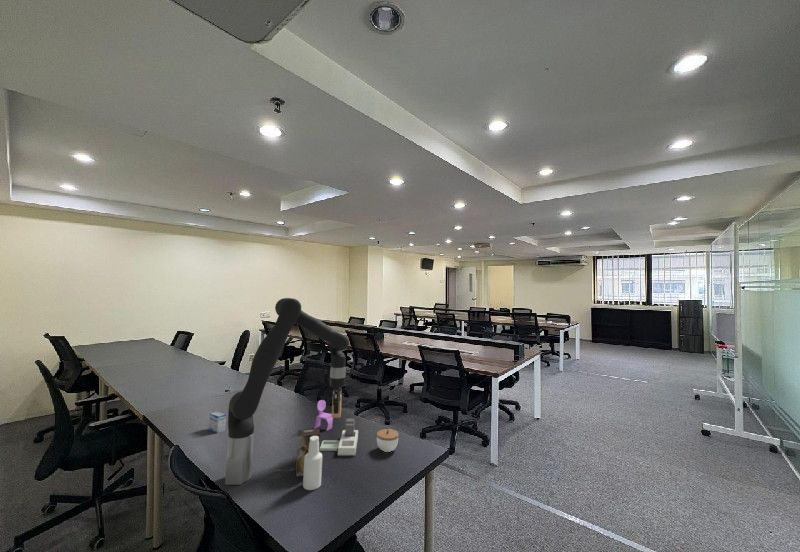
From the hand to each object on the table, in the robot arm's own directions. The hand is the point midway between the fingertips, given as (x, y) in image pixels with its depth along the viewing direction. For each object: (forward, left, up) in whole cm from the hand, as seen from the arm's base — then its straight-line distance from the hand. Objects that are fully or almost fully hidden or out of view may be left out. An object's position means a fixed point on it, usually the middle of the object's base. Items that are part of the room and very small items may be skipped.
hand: (336, 411), depth 155 cm
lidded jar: (-1, -25, -18) cm, 31 cm away
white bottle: (-30, +5, -18) cm, 35 cm away
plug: (0, 0, -2) cm, 2 cm away
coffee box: (-20, +9, -18) cm, 28 cm away
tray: (+1, +3, -18) cm, 18 cm away
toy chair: (+24, +10, -18) cm, 31 cm away
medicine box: (+21, +66, -18) cm, 71 cm away
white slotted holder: (+2, -6, -18) cm, 19 cm away
